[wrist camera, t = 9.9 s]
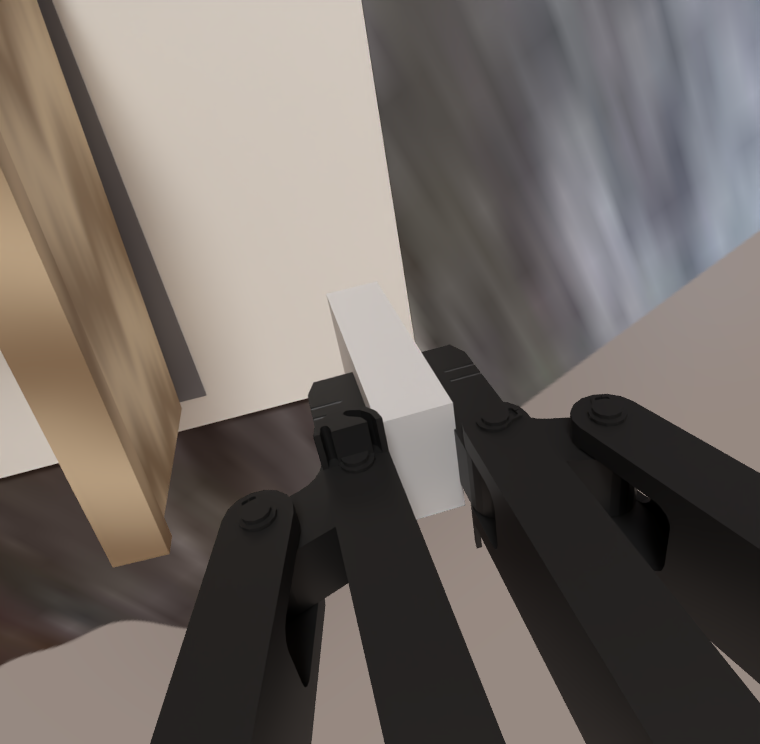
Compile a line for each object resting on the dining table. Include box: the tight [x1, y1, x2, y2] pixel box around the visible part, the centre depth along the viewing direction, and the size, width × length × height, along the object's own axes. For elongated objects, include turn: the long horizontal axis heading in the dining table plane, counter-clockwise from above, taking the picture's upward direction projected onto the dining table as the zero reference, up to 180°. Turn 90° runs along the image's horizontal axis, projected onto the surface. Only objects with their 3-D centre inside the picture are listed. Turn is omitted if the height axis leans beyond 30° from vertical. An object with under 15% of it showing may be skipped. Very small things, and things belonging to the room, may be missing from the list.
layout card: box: [0, 0, 415, 478], centre depth 22 cm, size 27×22×1 cm
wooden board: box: [0, 0, 182, 567], centre depth 18 cm, size 19×2×9 cm, turn 7°
